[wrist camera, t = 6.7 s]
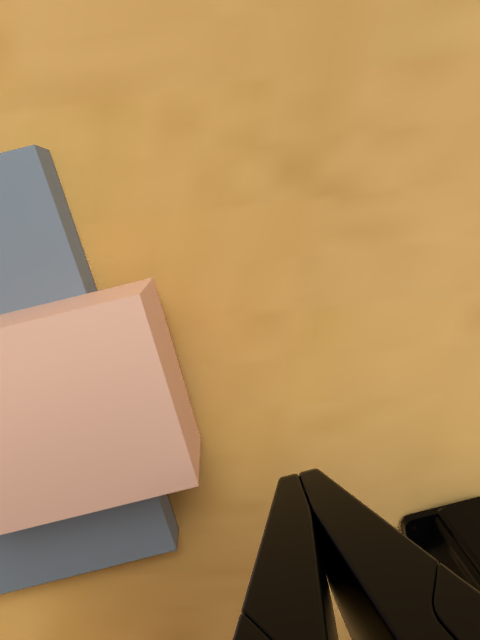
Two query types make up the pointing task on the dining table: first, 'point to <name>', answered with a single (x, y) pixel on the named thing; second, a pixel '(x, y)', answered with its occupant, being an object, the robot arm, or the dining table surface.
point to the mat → (36, 289)
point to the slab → (91, 407)
